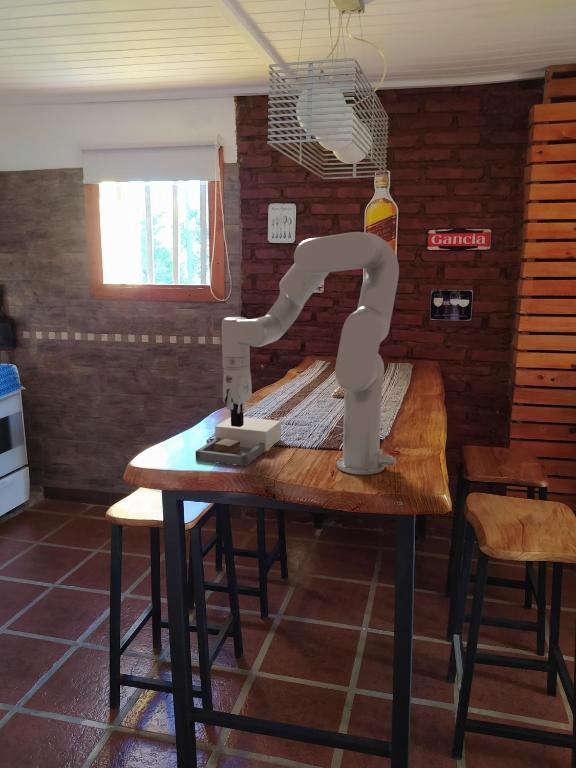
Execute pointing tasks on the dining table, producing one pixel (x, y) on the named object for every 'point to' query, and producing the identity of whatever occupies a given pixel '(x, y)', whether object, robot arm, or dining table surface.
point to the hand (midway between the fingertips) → (237, 425)
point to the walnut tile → (227, 446)
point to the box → (239, 458)
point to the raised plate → (251, 432)
